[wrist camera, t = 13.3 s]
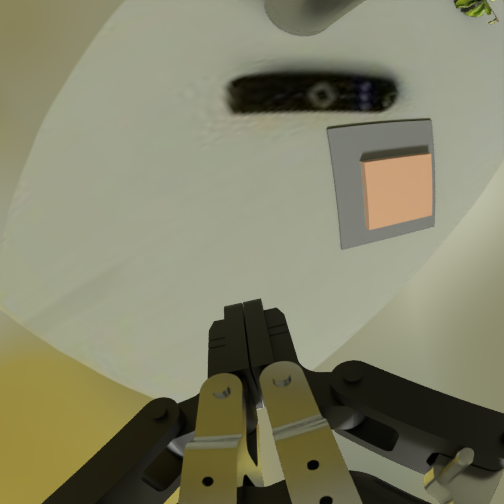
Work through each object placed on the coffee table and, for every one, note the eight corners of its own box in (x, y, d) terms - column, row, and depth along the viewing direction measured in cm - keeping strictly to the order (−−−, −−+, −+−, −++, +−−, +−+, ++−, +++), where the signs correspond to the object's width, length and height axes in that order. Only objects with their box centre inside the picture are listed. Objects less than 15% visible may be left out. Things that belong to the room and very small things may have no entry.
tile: (364, 162, 37) (431, 153, 37) (359, 160, 38) (425, 152, 38) (369, 230, 41) (431, 215, 41) (364, 226, 42) (426, 212, 42)
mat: (326, 129, 36) (327, 129, 36) (429, 120, 36) (431, 120, 36) (341, 248, 44) (342, 249, 44) (433, 225, 44) (434, 226, 44)
